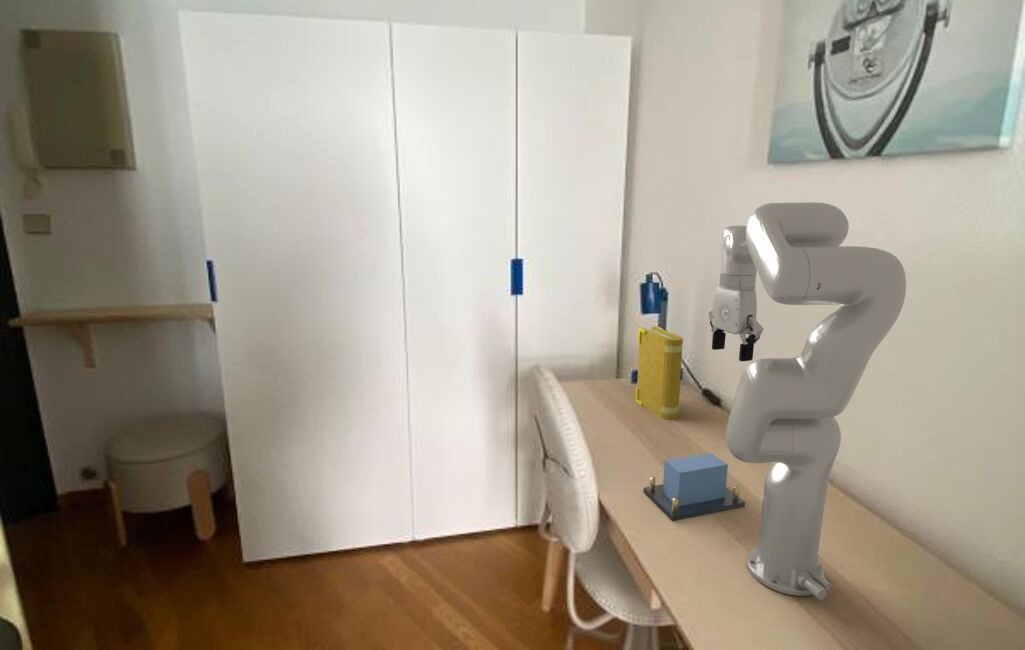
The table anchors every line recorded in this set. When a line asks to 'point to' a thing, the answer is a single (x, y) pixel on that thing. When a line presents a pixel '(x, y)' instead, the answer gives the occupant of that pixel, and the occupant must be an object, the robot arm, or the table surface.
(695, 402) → the table surface
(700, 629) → the table surface
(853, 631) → the table surface
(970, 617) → the table surface
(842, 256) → the robot arm
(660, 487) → the dowel plate
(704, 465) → the blue block
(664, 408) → the book
